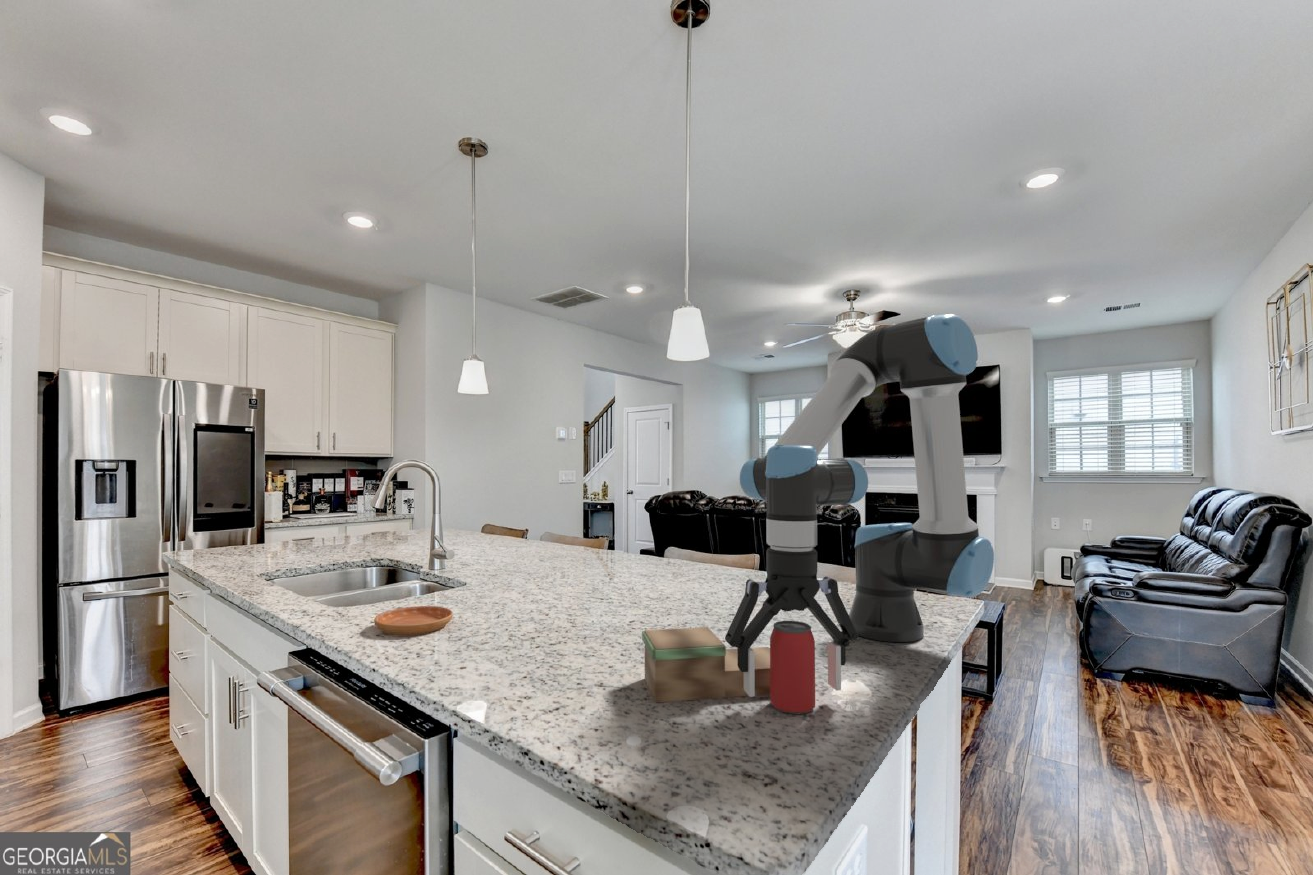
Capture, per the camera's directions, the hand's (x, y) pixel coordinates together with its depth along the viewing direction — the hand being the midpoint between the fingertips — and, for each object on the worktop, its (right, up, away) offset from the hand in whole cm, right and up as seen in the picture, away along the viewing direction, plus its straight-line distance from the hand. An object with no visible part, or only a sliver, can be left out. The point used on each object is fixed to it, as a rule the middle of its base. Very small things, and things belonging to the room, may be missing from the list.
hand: (792, 690), depth 88 cm
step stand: (-11, -3, +8) cm, 14 cm away
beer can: (0, -3, 0) cm, 3 cm away
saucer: (-74, -4, +41) cm, 84 cm away
